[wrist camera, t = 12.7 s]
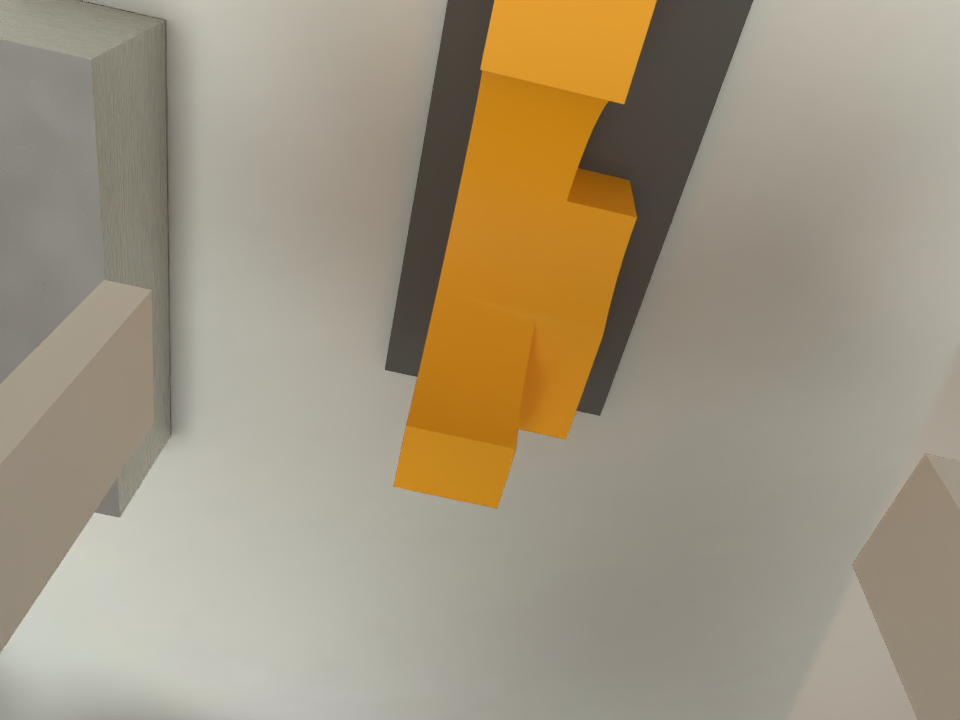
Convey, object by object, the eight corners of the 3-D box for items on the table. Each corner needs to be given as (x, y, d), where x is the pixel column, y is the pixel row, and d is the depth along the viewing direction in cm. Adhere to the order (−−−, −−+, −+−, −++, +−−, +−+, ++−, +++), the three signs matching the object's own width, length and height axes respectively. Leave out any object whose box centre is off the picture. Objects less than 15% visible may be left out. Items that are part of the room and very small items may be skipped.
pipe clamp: (565, 373, 25) (567, 523, 20) (428, 342, 25) (393, 486, 20) (704, -45, 19) (765, 13, 13) (519, -92, 18) (505, -52, 13)
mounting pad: (599, 408, 26) (599, 415, 26) (387, 362, 26) (384, 369, 26) (772, -66, 19) (776, -64, 18) (473, -140, 18) (471, -139, 18)
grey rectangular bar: (170, 435, 29) (120, 517, 25) (55, 411, 28) (-11, 491, 25) (165, 20, 21) (91, 60, 17) (6, -17, 21) (-99, 16, 17)
